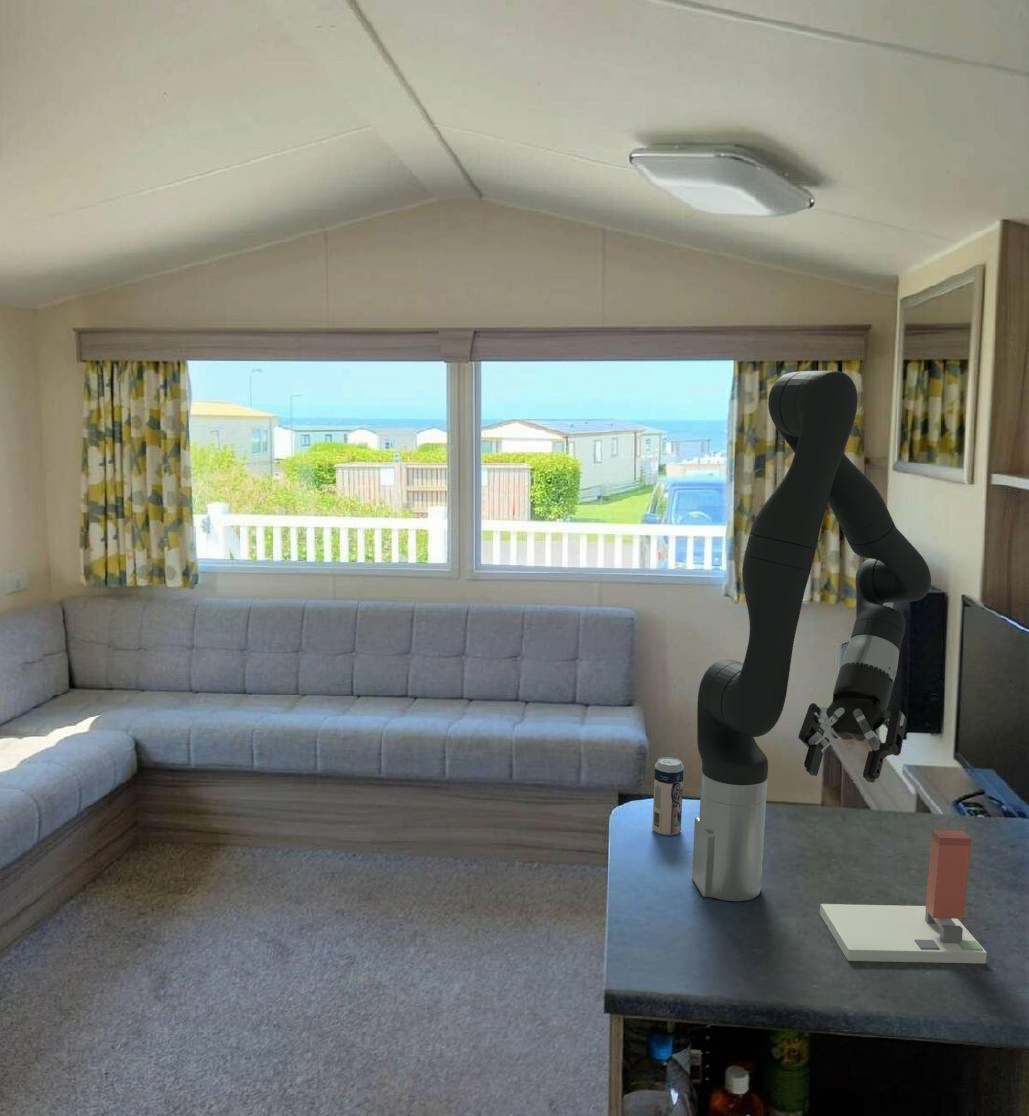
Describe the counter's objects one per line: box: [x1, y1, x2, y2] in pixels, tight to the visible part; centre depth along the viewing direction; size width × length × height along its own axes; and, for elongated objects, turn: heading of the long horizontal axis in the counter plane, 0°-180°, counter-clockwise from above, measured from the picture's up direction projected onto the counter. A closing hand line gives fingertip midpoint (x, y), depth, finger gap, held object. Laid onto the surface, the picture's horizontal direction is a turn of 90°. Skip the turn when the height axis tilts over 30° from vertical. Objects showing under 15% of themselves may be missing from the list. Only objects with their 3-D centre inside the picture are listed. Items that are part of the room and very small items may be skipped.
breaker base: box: [819, 903, 988, 965], centre depth 135 cm, size 18×12×4 cm
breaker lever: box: [925, 829, 972, 928], centre depth 133 cm, size 4×3×13 cm
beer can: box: [651, 756, 685, 837], centre depth 167 cm, size 5×5×12 cm
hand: (839, 776), depth 140 cm, fingers open, 8 cm apart
